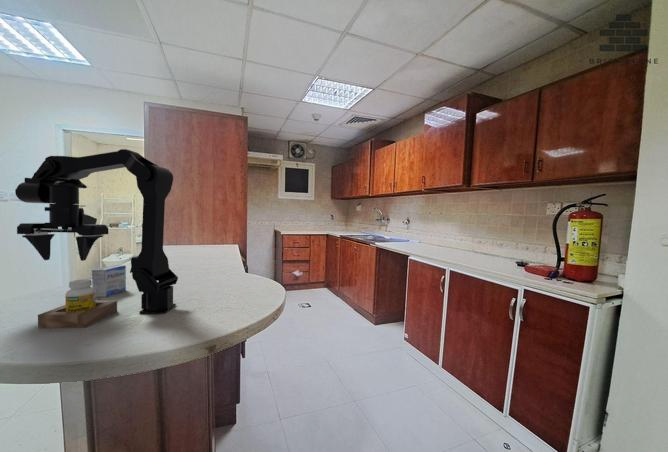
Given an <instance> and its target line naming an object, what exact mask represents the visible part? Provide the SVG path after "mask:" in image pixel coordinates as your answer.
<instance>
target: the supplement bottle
mask: <svg viewBox="0 0 668 452" xmlns="http://www.w3.org/2000/svg"><path fill="white" fill-rule="evenodd" d="M68 289H69V290H67V291H66V292H65V294H64V295H65V297H64V298H65V305H66V312H85V311H87V310H89V309H92V308H94V307H96V298H97V297H96V295H95V289H94V288H92V279H89V278H87V279H86V278H85V279H77V280H72V281H69V282H68Z"/></svg>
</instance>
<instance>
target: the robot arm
mask: <svg viewBox="0 0 668 452" xmlns="http://www.w3.org/2000/svg"><path fill="white" fill-rule="evenodd" d="M123 168H126V170H127V171H128V172H129V173H130V174H132V175H133V176H135V178H136V179H135V180H136V185H137V189H138V190H139V192H140V194H141V196H142V198H143V199H142V201H143V202H142V226H141V248H140V249H141V250H140V252H139V254H138V255H137V256H132V257H131V258H130V259H131V260H130V266H131V267H130V270H129V273H130V274H131V276H132V279H133V281H135V285H136V286H137V289H138V292H140V293H141V295H140V296H141V310H140V311H139V312H138V313H139V314H142V315H143V314H146V315H147V314H165V313H167V312H170V311H171V309H173V308H174V307H176V305H177V303H174V285H176V284H177V283H178V280H179V277H178V275H176V274H175V273H174V272H173V271H172V270H171V269H170V267H169V258H168V257H167V255H166V253H165V250H164V234H165V233H164V230H165V211H166V210H165V209H166V208H165V206H166V199H167V197H168V196H169V194H170V193H171V190H172V187H173V183H174V175H173V173H172V172H171V171H170V169H168V168H167V167H166V168H165V167H162V166H159V165H158V164H156V163H154V162H153V161H150V160H149V159H147V158H145V157H144V156H142V155H141V154H140V153H139V152H138V151H134V150H131V149H127V148H122V149H119V150H115V151H109V152H102V153H95V154H91V155H84V156H69V155H68V156H67V155H49V156H46V157H45V158H44V161H43V162H42V163H41V164H40V166H39V167H38V168H37V170H36V171H35V172H34V173H33V175H32V177H24V182H21V183H19V184H18V185H17V186H16V188H15V190H14V191H15V193H14V194H15V195H16V198H18V200H20V201H21V202H24V203H27V204H29V203H31V204H48V206H45V207H44V212H48V213H49V216H48V217H49V222H24V223H22V222H21V223H19V224H18V225H17V226H16V234H17V235H22V236H21V237H22V238H25V239H26V240H27V241H28V242H29V243H30V244H31V245H32V246H33V247H34V249H35V250H36V251H37V253H38V254H39V255H40V256H41V258H42V260H44V261H50V259H51V243H52V242H51V241H52V239H53V237H54V236H55V235H56V233H68V234H69V233H70V234H72V233H75V234H78V235H77V236H75V239H76V245H77V250H78V256H79V258H80V261H82V262H83V261H86V260H87V258H88V256H89V254H90V251H91V250H92V247H93V245H94V244H95V242H96V241H97V240H98V239H100V238H103V237H104V235H109V227H108V226H107V224H101V223H100V224H97V221H98V218H97V217H96V218H95V217H93V216H91V215H89V214H85V210H84V208H83V207H80V189H87V188H88V185H86V184H84V183H83V182H82V181H81V180H83V179H86V178H88V177H89V176H90V175H91V174H94V173H98V172H104V171H111V170H117V169H123Z"/></svg>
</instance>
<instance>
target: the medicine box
mask: <svg viewBox="0 0 668 452" xmlns="http://www.w3.org/2000/svg"><path fill="white" fill-rule="evenodd" d="M126 266H127V265H122V264H121V265H119V264H116V265H115V264H114V265H110V266H109V265H108V266H104V267H101V268H97V269H92V270H91V281H92V285H91V287H92V288H94V289H95V295H96V298H108V297H110V296H114V295H116V294H119V293H121V292H125V291H126V290H127V286H126V285H127V283H126V282H127V281H126V280H127V270H126V269H127V267H126Z"/></svg>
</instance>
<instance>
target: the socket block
mask: <svg viewBox="0 0 668 452" xmlns="http://www.w3.org/2000/svg"><path fill="white" fill-rule="evenodd" d="M117 312H118V300H117V299H116V300H110V299H108V300H107V299H106V300H105V299H104V300H101V299H100V300H96V307H94V308H92V309H89V310H87V311H85V312H66V304H64V305H61V306H59V307H55V308H53V309H50V310H47V311H45V312H42V313H39V314H38V315H37V328H38V329H40V328H41V329H50V328H52V329H54V328H55V329H56V328H57V329H58V328H62V329H63V328H87V327H89V326H91V325H93V324H95V323H97V322H99V321H101V320H103V319H105V318H106V317H109V316H110V315H113V314H115V313H117Z"/></svg>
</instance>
